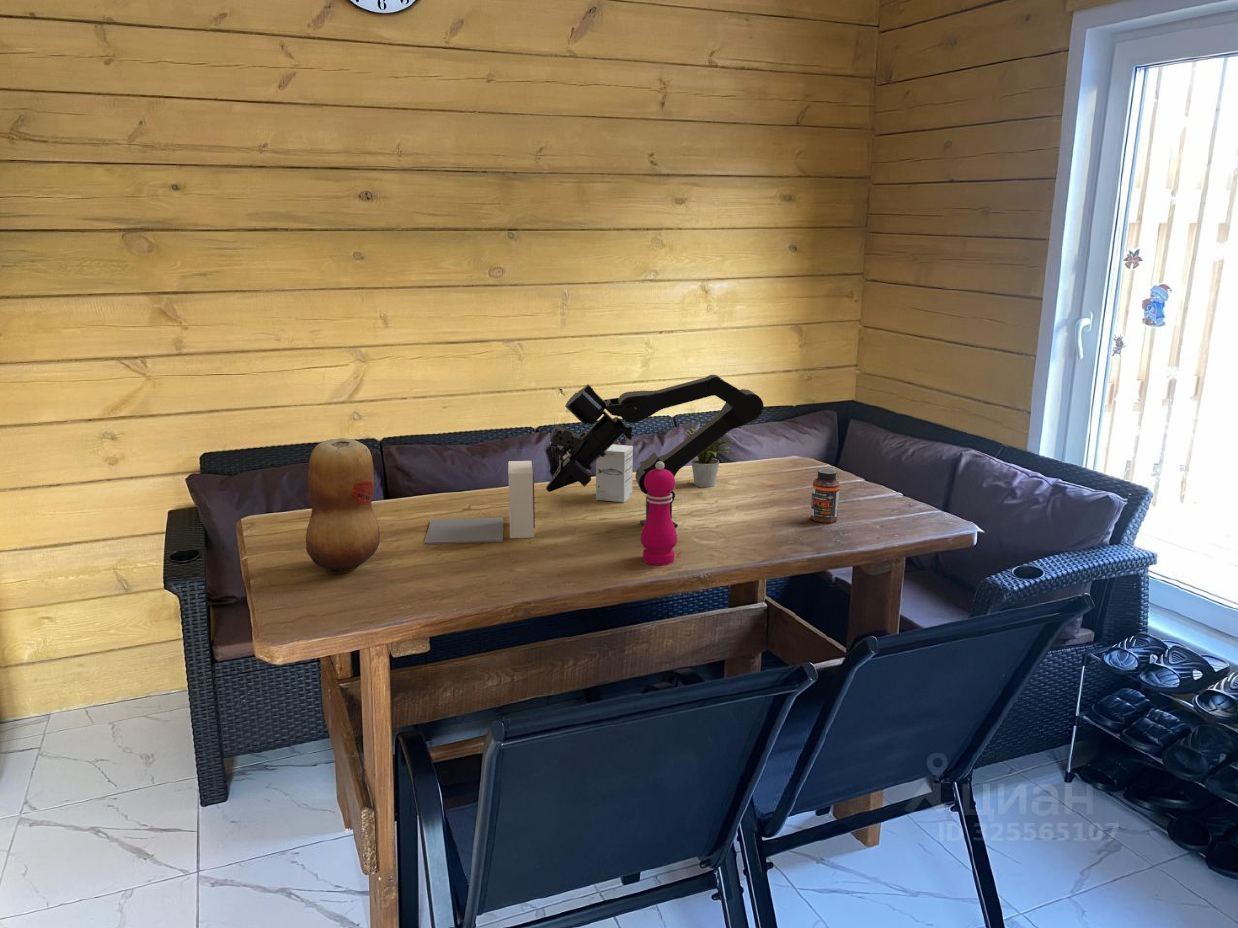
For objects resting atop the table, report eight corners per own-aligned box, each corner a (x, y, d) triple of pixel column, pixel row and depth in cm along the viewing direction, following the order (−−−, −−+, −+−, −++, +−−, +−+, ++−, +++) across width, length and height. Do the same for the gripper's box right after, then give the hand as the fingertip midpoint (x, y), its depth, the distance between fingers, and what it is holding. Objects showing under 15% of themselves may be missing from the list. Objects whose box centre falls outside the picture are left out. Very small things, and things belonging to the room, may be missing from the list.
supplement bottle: (809, 522, 213) (812, 473, 210) (811, 514, 219) (813, 466, 216) (837, 524, 212) (840, 475, 209) (837, 516, 217) (840, 468, 214)
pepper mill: (632, 559, 189) (633, 461, 184) (657, 551, 194) (659, 455, 189) (659, 568, 184) (660, 468, 179) (684, 560, 189) (686, 461, 184)
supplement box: (595, 500, 229) (594, 449, 226) (604, 492, 236) (604, 442, 233) (624, 503, 227) (624, 451, 224) (633, 495, 234) (633, 444, 231)
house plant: (701, 496, 233) (703, 431, 229) (663, 484, 243) (664, 422, 239) (742, 486, 242) (744, 423, 238) (703, 476, 252) (705, 415, 248)
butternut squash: (345, 585, 175) (336, 452, 169) (293, 573, 181) (282, 444, 175) (397, 563, 186) (390, 437, 180) (346, 551, 193) (338, 430, 187)
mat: (503, 519, 215) (503, 517, 214) (502, 541, 199) (502, 540, 199) (431, 521, 213) (430, 519, 213) (424, 544, 197) (424, 542, 197)
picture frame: (534, 521, 213) (532, 460, 210) (535, 537, 202) (534, 473, 199) (510, 522, 212) (508, 461, 209) (510, 538, 202) (508, 473, 198)
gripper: (569, 405, 211) (520, 454, 213) (574, 422, 193) (520, 476, 195) (604, 439, 214) (555, 488, 216) (613, 459, 196) (559, 512, 198)
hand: (547, 490), depth 206 cm, fingers closed
